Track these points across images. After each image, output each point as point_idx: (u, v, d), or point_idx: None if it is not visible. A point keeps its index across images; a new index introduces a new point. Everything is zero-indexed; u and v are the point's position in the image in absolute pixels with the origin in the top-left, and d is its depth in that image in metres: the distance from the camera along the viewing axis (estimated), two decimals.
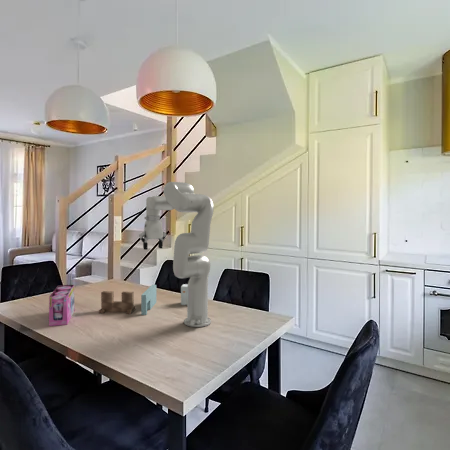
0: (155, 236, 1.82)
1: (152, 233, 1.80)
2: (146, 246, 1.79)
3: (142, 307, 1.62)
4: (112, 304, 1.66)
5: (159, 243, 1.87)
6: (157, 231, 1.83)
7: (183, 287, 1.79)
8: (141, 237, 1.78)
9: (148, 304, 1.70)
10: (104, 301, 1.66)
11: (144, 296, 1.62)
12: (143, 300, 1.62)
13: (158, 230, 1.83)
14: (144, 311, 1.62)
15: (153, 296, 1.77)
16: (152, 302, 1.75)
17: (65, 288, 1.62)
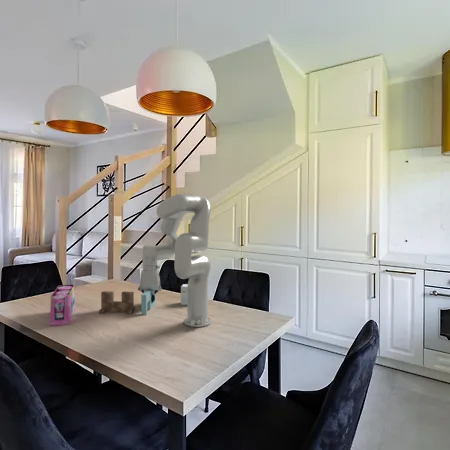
0: None
1: None
2: None
3: (142, 307, 1.62)
4: (112, 304, 1.66)
5: None
6: None
7: (183, 287, 1.79)
8: None
9: (148, 304, 1.70)
10: (104, 301, 1.66)
11: (144, 296, 1.62)
12: (143, 300, 1.62)
13: None
14: (144, 311, 1.62)
15: None
16: None
17: (66, 288, 1.62)
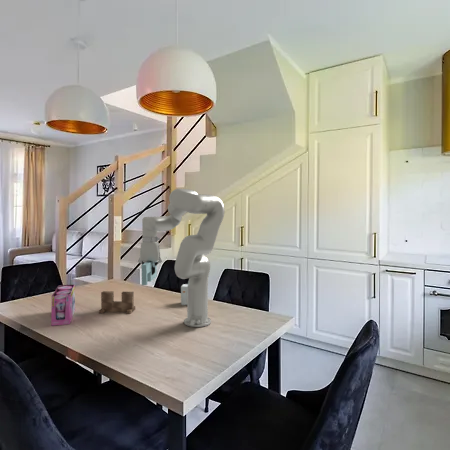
0: None
1: None
2: None
3: (142, 277, 1.61)
4: (112, 304, 1.66)
5: None
6: None
7: (183, 287, 1.79)
8: None
9: (148, 276, 1.69)
10: (104, 301, 1.66)
11: (144, 266, 1.61)
12: (143, 270, 1.61)
13: None
14: (144, 281, 1.61)
15: None
16: (152, 275, 1.74)
17: (66, 288, 1.62)
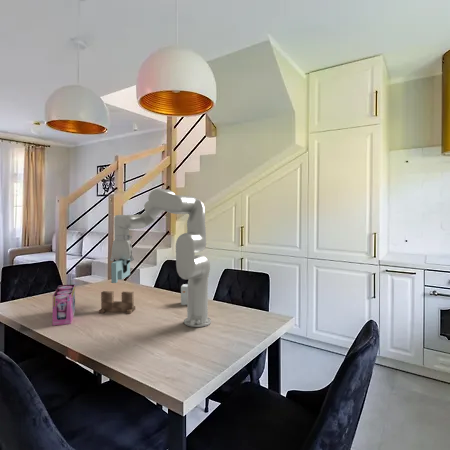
0: None
1: None
2: None
3: (112, 275, 1.61)
4: (112, 304, 1.66)
5: None
6: None
7: (183, 287, 1.79)
8: None
9: (119, 274, 1.69)
10: (104, 301, 1.66)
11: (114, 264, 1.61)
12: (113, 268, 1.61)
13: None
14: (114, 279, 1.61)
15: None
16: (124, 273, 1.74)
17: (66, 288, 1.62)
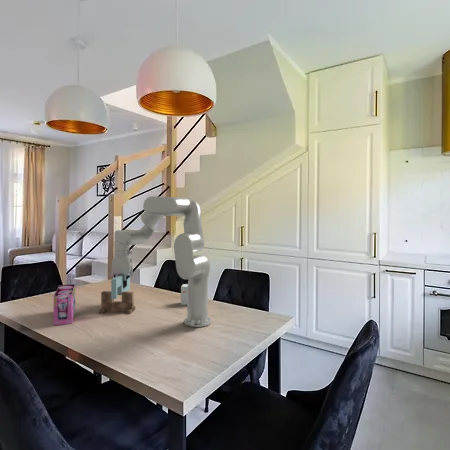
0: None
1: None
2: None
3: (112, 291, 1.62)
4: (112, 304, 1.66)
5: None
6: None
7: (183, 287, 1.79)
8: (131, 275, 1.74)
9: (119, 289, 1.70)
10: (104, 301, 1.66)
11: (114, 280, 1.61)
12: (113, 284, 1.62)
13: None
14: (114, 295, 1.62)
15: None
16: (124, 288, 1.75)
17: (67, 288, 1.63)
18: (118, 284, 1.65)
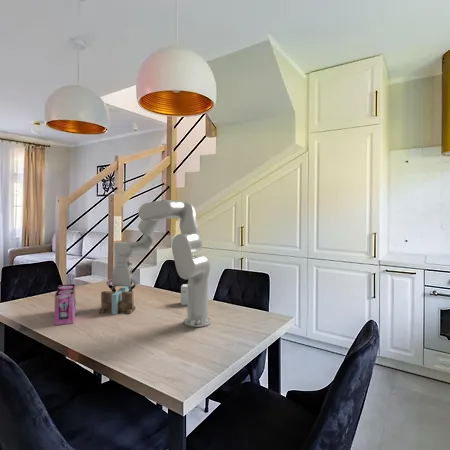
0: None
1: None
2: None
3: (112, 307, 1.62)
4: None
5: (114, 292, 1.74)
6: None
7: (183, 287, 1.79)
8: (135, 284, 1.74)
9: None
10: (104, 301, 1.66)
11: (114, 296, 1.62)
12: (113, 300, 1.62)
13: None
14: (114, 311, 1.62)
15: None
16: None
17: (67, 287, 1.63)
18: (118, 299, 1.65)
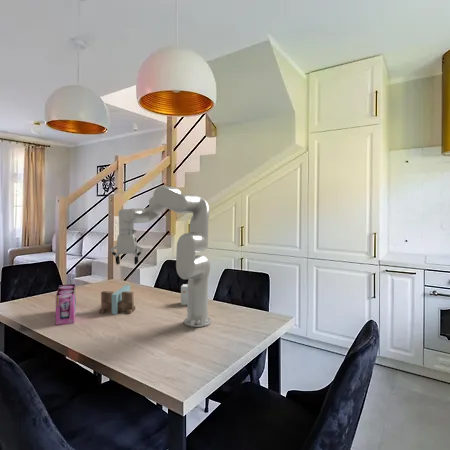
0: None
1: None
2: None
3: (112, 307, 1.62)
4: None
5: (118, 259, 1.73)
6: None
7: (183, 287, 1.79)
8: None
9: None
10: (104, 301, 1.66)
11: (114, 296, 1.62)
12: (113, 300, 1.62)
13: None
14: (114, 311, 1.62)
15: None
16: None
17: (67, 287, 1.63)
18: (118, 299, 1.65)
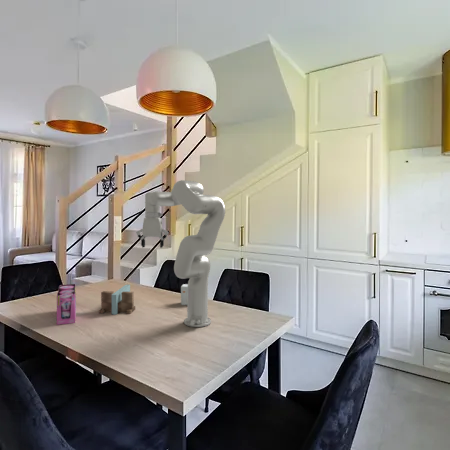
0: None
1: None
2: None
3: (112, 307, 1.62)
4: None
5: (144, 242, 1.74)
6: None
7: (183, 287, 1.79)
8: (166, 234, 1.75)
9: None
10: (104, 301, 1.66)
11: (114, 296, 1.62)
12: (113, 300, 1.62)
13: None
14: (114, 311, 1.62)
15: None
16: None
17: (68, 287, 1.63)
18: (118, 299, 1.65)
